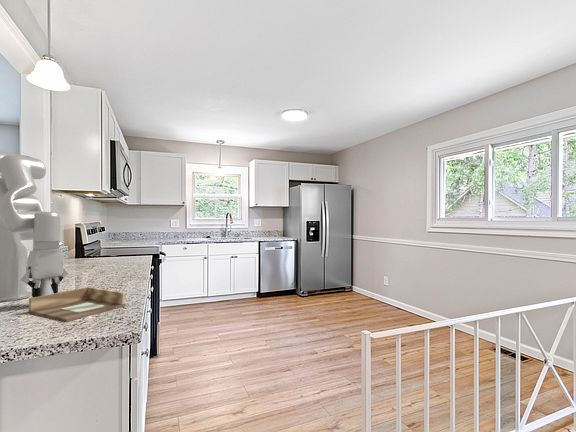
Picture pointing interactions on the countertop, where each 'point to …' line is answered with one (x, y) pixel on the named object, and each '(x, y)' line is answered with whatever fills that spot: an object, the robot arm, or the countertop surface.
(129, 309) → the countertop surface
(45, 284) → the flask
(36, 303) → the tray
